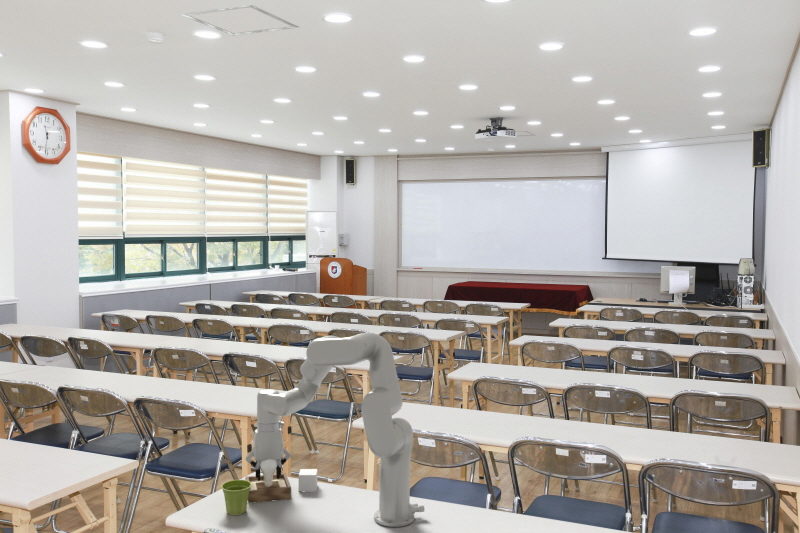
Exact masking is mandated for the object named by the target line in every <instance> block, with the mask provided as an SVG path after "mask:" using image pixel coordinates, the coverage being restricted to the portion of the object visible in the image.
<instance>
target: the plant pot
mask: <svg viewBox="0 0 800 533" xmlns="http://www.w3.org/2000/svg"><path fill="white" fill-rule="evenodd" d="M251 486H252V483H251V482H249V481H247V480H245V479H232V480H228V481H226V482H223V483H222V484H221V486H220V488H221V490H222V492H223V495H224V501H225V502H224V503H225V508H226V509H225V510H226V513H227V515H229V514H230V515H231V516H240V515H242V514H243V513H246V511H247V508H248V495H249V491H250V487H251Z"/></svg>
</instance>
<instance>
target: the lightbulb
mask: <svg viewBox="0 0 800 533" xmlns="http://www.w3.org/2000/svg"><path fill="white" fill-rule="evenodd" d="M277 465H278V463H277V461H276V460H271V459H268V460H264V461H261V463H260V466H259V467H260V472H261V473H262V475H263V476H264V483H265V486H267V487H270V486H271V485H272V479H273V475H274V474H275V472H276V468H277Z"/></svg>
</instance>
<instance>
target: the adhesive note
mask: <svg viewBox="0 0 800 533" xmlns="http://www.w3.org/2000/svg"><path fill="white" fill-rule="evenodd" d="M317 489H318V469H317V468H300V470H299V473H298V492H299V491H306V492H305V493H316V492H317Z"/></svg>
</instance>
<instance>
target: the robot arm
mask: <svg viewBox="0 0 800 533" xmlns="http://www.w3.org/2000/svg"><path fill="white" fill-rule="evenodd" d="M305 354H306V359H305V360H304V362H303V363H302V364H301V365H300V369H299V372H300V373H301V375H302V378H301V379H300V380H299V382H298V383H297V384H296V385H295V387H293V389H289V390H287V391H284V392H281V393H280V392H279V391H278V389H277V390H276V389H272V388H268V389H262V390H259V391H258V393H257V395H256V400H257V401H256V406H257V407H256V417H257V418H256V425H257V426H256V429H255V430H254V433H253V443H252V450H251V451H250V452H249V453H248V454H247V455H246V456H245V461H246V462H247V463H249V464H250V465H251V466H252V467H253V468H254V469H255V476H256V478H258V481H260V475H261V469H260V463H261V461H264V460H268V459H271V460H276V461H277V463H278V465H277V468H276V470H275V472H276V473H275V474H276V477H277V479H279V476H281V473H282V467H283V465H285V463H286V462H287V461H288V460H289V459H290V458H291V457H292V455H291V452H289V451H288V450H287V449H286V448H285V447H284V437H283V432H282V431H283V430H282V427H284V426H285V423H284V421H281V420H280V417H281V418H282V417H283V418H284V417H288V416H291V415H292V414H294V413H296V412H298V411H302V410H303V409H304V408H305V407H307V406H308V405H309V403H310V402H311V401H312V400H313V399H314V397H315V396H317V394H318V392H319V390H320V388H321V386H322V381H323V380H324V379H325V378H326V376H328V374H329V373H330V371H331V370H332V369H333V368H334V367H336V366H338V367H339V366H351V365H356V364H359V363H362V362H364V361H365V362H366V361H368V362H369V370H368V371H369V372H368V374H369V380H370V383H371V391H369V392H368V393H366V394H365V395H364V396H363V398H362V401H361V407H360V409H361V410H360V411H361V417H362V422H363V427H364V428H363V429H364V431H365V437H366V440H367V441H366V442H367V445H368V447H369V450H370V451H371V452H372V454H373V455H374V456H375V457H377V458H379V486H378V487H379V490H378V491H379V496H378V498H379V499H378V500H379V505H378V510H377V511H376V512H375V513H374V515H373V519H374V521H375V523H377V524H379V525H381V526H384V527H388V528H389V527H390V528H391V527H392V528H400V527H406V526H408V525H410V524H412V523H413V522H414V521H415V513H424V512H425V505H419V504H418V503H410V499H411V498H410V495H411V494H410V492H411V459H412V458H411V456H412V449H413V442H414V431H413V428H412V425H411V424H410V423H409V421H407V420H406V419H405V418H402V417H393V416H394V415H395V414H397V413H398V412H400V410H401V409H402V407H403V396H402V391H401V386H400V381H399V377H398V373H397V372H398V371H397V369H396V363H395V356H394V353H393V350H392V347H391V344H390V343H389V342H388V340H387V339H386V338H385V337H383V336H382V335H379V334H377V333H374V332H362V333H359V334H355V335H352V336H348V337H338V336H336V335H326V336H323V337H319V338H316V339H313V340H312V341H311V342H309V344H308V346H307V347H306V352H305ZM252 458H253V459H252Z"/></svg>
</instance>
